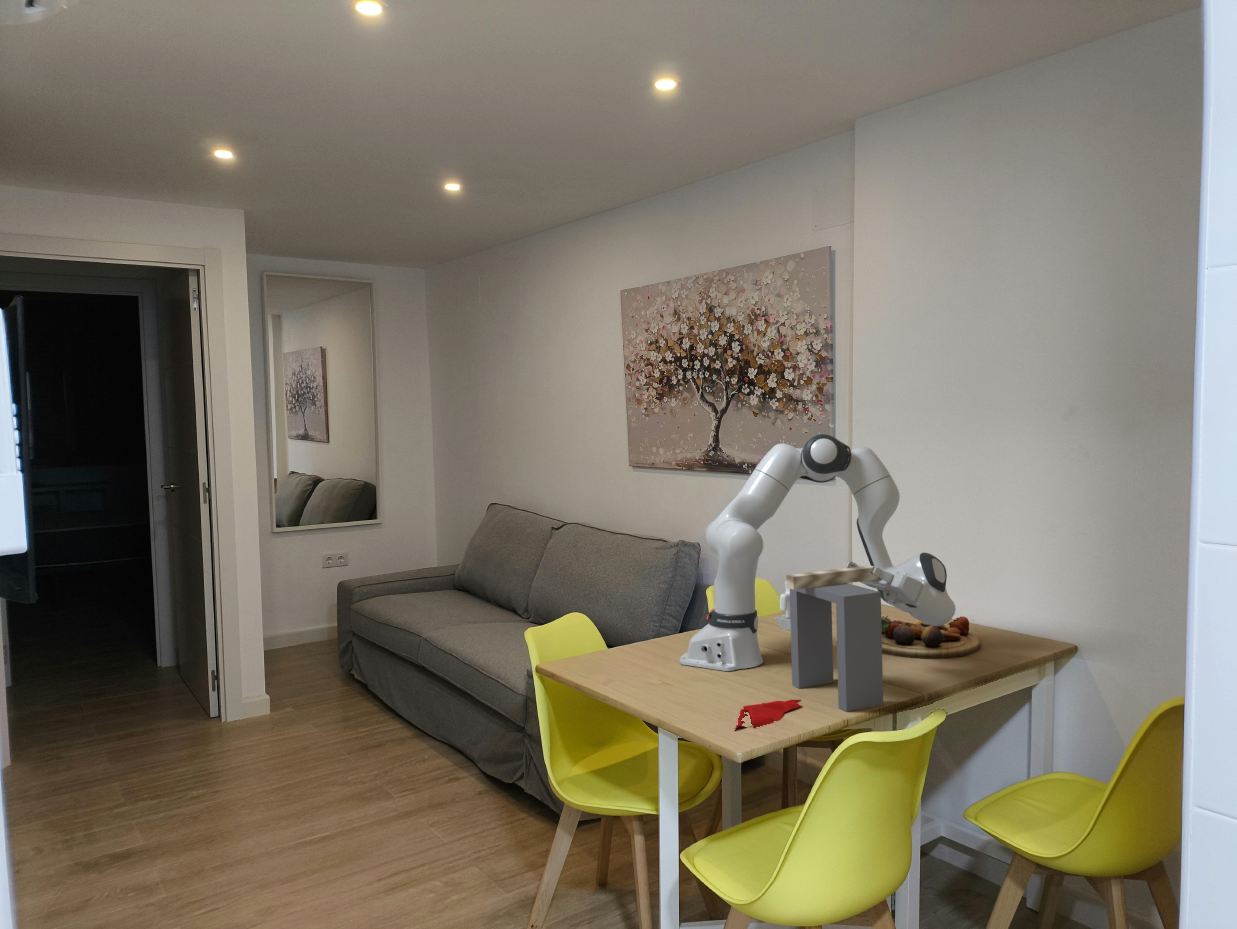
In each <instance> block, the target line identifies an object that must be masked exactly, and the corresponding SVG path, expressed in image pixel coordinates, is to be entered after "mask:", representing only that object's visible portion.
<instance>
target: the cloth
mask: <svg viewBox="0 0 1237 929" xmlns="http://www.w3.org/2000/svg"><path fill="white" fill-rule="evenodd" d="M800 702H802V699H789V700H785V701H784V700H774V701H768V702H762V703H758V704H749V705H744V706H743V707H742V708H740V710H739V712H740V713H739V714H740V716H739V715H738V716H739V718H738V717H737V719H738V725H737V724H736V725H735V728H734V729H737V728H738V729H739V727H741V728H745V727H744V726H742V724H743V723H745V722H744V721H741V720H742V718H744V717H745V716H748V715H747V714H744V712H745V713H746V712H748V713H749V715H750V719H751V724H752V725H753V726H752V727H753V728H754V729H755V728H756V727H760V726H762V727H764V726H763V725H765V726H768V725H771V724H774V723H775V722H774V721H776V722H779V721H781V719H783V716H784V714H785V713H787V712H789V711H793V710H795V709H799V708H803V705H801V704H799V703H800ZM743 708H744V709H743ZM767 724H768V725H767ZM760 728H761V727H760ZM738 729H737V730H738Z"/></svg>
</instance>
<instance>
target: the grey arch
mask: <svg viewBox="0 0 1237 929" xmlns="http://www.w3.org/2000/svg"><path fill="white" fill-rule="evenodd" d="M832 603H834V604H835V611H836V612H835V614H836V616H835V618H836V648H837V649H836V653H837V655H836V656H837V657H836V658H837V659H836V661H837V662H836V663H837V664H836V665H837V694H838V696H837V698H838V700H837V701H838V702H837V703H838V709H840V710H842V711H844V712H846V713H848V712H853V711H859V710H864V709H869V708H875V707H880V706H884V684H883V683H884V682H883V680H884V678H883V676H884V675H883V673H884V671H883V653H882V625H881V617H882V598H881V592H879V591H878V590H874V589H871V588H867V587H865V586H864V587H863V586H860V585H856V584H851V583H844V584H836V585H828V586H820V587H811V588H803V589H795V590H793V589H790V618H791V630H790V653H791V681H792V682H791V683H792V684H791V685H792V686H793V687H795V688H797V689H804V688H809V687H811V688H812V687H816V686H822V685H828V684H833V683H834V654H833V653H834V652H833V648H834V647H833V643H834V642H833V611H832V610H833V604H832Z"/></svg>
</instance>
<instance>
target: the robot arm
mask: <svg viewBox="0 0 1237 929" xmlns="http://www.w3.org/2000/svg"><path fill="white" fill-rule="evenodd" d="M836 477H837V478H840V479H841V480H843V481H844V482H845V484H846V485H847V486H848V488H849V490H850V492H851V494H852V495H853V498H854V500H855V502H856V505H857V513H858V516H857V519H856V527H857V531H858V533H859V534H858V535H859V538H860V540H861V543H862V546H863V548H864V550H865V554H866V556H867V559H868V562H869V565H870V566H875V567H872V570H871V574H873V575H875V576H878V579H877V580H869V581H861V582H860V583H861V584H863V585H865V586H867V587H869V588H872V589H876V591H879V592H881V600H882V601H884V602H885V603H886V604H889V605H890V606H893V607H895V608H896V609H898V610H899V611H901V612H905V613H908V614H909V615H910V616H911V617H913V618H914V619H916V620H917V621H922V622H924V623H926V624H929V625H932V626H942V625H946V624H947V623H950V622H951V620H952V619H953V617H954V616H955V614H956V611H957V610H956V604H955V602H954V601H953V600H952V598H951V597H950V595H949V593H948V591H947V588H946V587H947V578H948V577H947V575H948V574H947V568H946V566H945V564H944V563H943V562H942V561H941V560H940V559H939V558H938V557H936V556H935V555H933V554H932V553H929V552H921V553H919V554H916V555H915V556H911V557H910V558H908V559H907V560H905V561H903V562H901V563H899V564H897V565H895V566H894V565H893V563H892V561H891V558H890V555H889V553H888V549H887V547H886V544H885V542H884V540H883V534H884V529H885V527H886V524H888V521H889V520H890V519H891V518H892V516H893V515H894V513H895V512H896V510H897V508H898V506H899V502H900V492H899V489H898V488H899V487H898V486H897V484H896V482H895V480H894V478H893V477H892V475H891V474H890V472H889V470H888V469H887V467H886V466H885V464H884V463H883V462H882V460H881V459H880V458H879V456H877V454H876V453H875V451H873V450H872V449H871V448H869V447H866V446H858V447H854V448H853V449H851V447H850V446H848V445H847V444H845V443H844V442H842V441H841V440H838V439H837V438H836V437H834V436H832V435H830V434H823V433H822V434H817V435H814V436H812V437H811V438H809V439H808V440H807V442H806V443H805V444H804V446H803V447H801V448H797V447H795V446H793V445H791V444H789V443H778V444H775V445H774V446H773V447H772V448H771V449H770V450H768V452H767V453H766V454H765V455H764V456H763V458H762V459H761V460H759V463H758V464H757V465H756V467H755V469H754V470H753V472H752V473H751V474H750V476H749V477H748V479H747V480H746V482H745V484H744V485H743V486H742V488H741V489H740V491H739V492H738V494H737V495H736V496H735V497H734V498H733V499H732V500H731V502H729V503H728V505H727V506H726V507H725V508H724V509H723V510H722V511H721V513H719V515H718V516H717V517H716V518H715V519H714V520H712V521H711V522H710V523H709V524H708V526H707V527H706V528H705V532H704V540H705V542H706V545H707V546H708V548H709V549H710V551H711V552H712V553H713V554H715V555H716V556H718V565H717V567H718V568H717V570H716V571H717V572H716V576H715V579H714V581H713V596H714V597H713V599H714V607H713V608H711V610H710V611H709V612H708V613H707V615H706V620H707V622H708V623H707V624H706V625H705V626H703V627H702V628H701V629H700V630H699V631H697V632H695V634H694V635H692V637H691V638H690V640H689V642H688V648H687V651H686V652H685V653H682V655H681V656H680V658H679V664H680V665H684V666H692V667H696V668H697V667H698V668H704V669H710V670H716V671H723V672H732V671H736V670H742V669H748V668H749V669H751V668H754V667H758V666H760V665H762V664H763V663H764V659H763V657H762V653H761V648H760V645H759V638H758V629H759V616H758V611H757V610H756V577H757V576H756V575H757V570H758V564H759V559H760V556H761V555H762V553H763V549H764V540H763V537H762V535H761V533H760V532H759V531H758V529H760V527H761V526H762V525H763V524H764V523H765V522H767V521H768V520H769V519H771V518H772V517H773V516H774V515H775V514H776V513H777V511H778V509H779V508H780V506H781V505H782V503H783V501H784V500H785V498H786V497H787V495H788V493H789V492H790V490H792V488H793V486H794V485H795V483H796V481H797V480H798V479H799V478H800V479H802V480H806V481H810V482H815V483H818V484H820V483H822V484H823V483H828V482H830V481H832V480H833V479H835V478H836ZM861 566H864V565H862V564H857V563H856V562H853V561H850V560H849V561H848V562H847V563H846V568H852V567H861ZM877 567H878V568H877Z"/></svg>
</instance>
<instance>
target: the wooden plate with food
mask: <svg viewBox="0 0 1237 929" xmlns="http://www.w3.org/2000/svg"><path fill="white" fill-rule="evenodd" d="M881 625H882V654H885V655H889V656H890V655H891V656H895V657H903V658H914V659H950V658H951V659H953V658H960V657H964V656H967V655H971V654H973V653H975V652H977V651H978V650H979V649H980V648H981V644H982V643H981V640H980V638H979V637H978V636H976V635H975V634H973V633H972V632H969V631H970V621H969V619H968V618H967V617H966V616H961V615H960V616H959V617H955V619H953V621H950V622H948V624H947V626H946V624H944V625H942V626H932V625H929V624H926V623H924V622H922V621H920V620H918V622H905V621H901V620H899V619H898V620H891V619H890V618H889V615H886V616H881ZM948 626H949V627H948Z"/></svg>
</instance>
